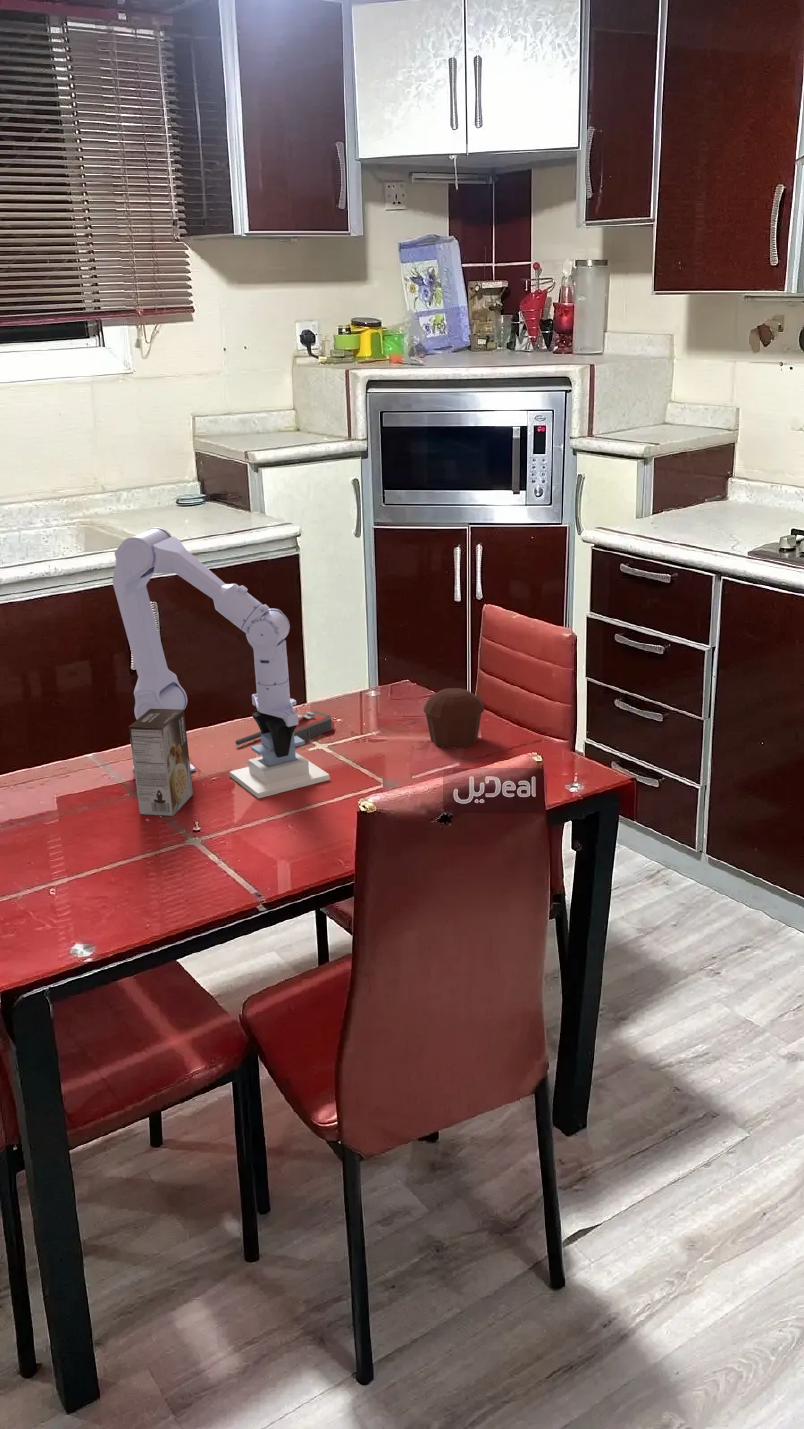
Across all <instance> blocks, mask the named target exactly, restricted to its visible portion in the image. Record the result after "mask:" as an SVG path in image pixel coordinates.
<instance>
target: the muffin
mask: <svg viewBox="0 0 804 1429" xmlns="http://www.w3.org/2000/svg"><path fill="white" fill-rule="evenodd" d="M484 711H485V705H484V704H483V702H482V700H481V698H480V697H479V696H477V695H476V694H474V693H472V692H471V691H470V690H467V689H465V688H457V687H450V688H449V687H448V688H444V689H440V690H439V691H437V692H435V693H434V694H432V695H431V696H430V697H429V698H427V700H426V702H425V704H424V706H423V712H424V714H425V716H426V721H427V725H428V732H429V736H430V742H432V743H433V744H434V745H435V746H436V747H440V746H442V748H445V747H447V748H446V749H460V748H459V747H464V748H466V747H465V746H467V745H470V746H472V745H471V744H474V745H475V743H476V741H477V740H478V737H479V731H480V725H481V724H480V723H481V718H482V714H483V712H484ZM443 746H444V747H443ZM454 747H455V748H454ZM467 747H468V746H467Z"/></svg>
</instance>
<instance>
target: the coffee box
mask: <svg viewBox="0 0 804 1429" xmlns="http://www.w3.org/2000/svg"><path fill="white" fill-rule="evenodd" d="M185 717H186V716H185V709H149V710H148V711H147V712H146V713H145V714H143V715H142V716H141V717H140V718H139V719H136V720H135V721H134V722H132V723H131V724H130V725H128V729H129V730H128V731H129V737H130V738H129V740H130V739H131V741H130V748H131V747H132V749H131V756H132V755H133V758H132V764H133V763H134V770H133V771H134V777H135V786H136V793H137V802H138V810H139V814H140V815H151V816H152V815H153V816H169V817H173V816H175V814H177V812H178V811H179V810H180V809H181V808H182V807H183V806H185V804H186V803H187V801H188V800H190V798H191V797H192V796H193V795H194V791H193V782H192V771H190V764H191V762H190V755H189V754H190V753H189V752H190V751H189V745H188V736H187V734H188V733H187V726H186V719H185Z"/></svg>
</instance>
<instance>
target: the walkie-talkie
mask: <svg viewBox="0 0 804 1429" xmlns="http://www.w3.org/2000/svg"><path fill="white" fill-rule="evenodd" d="M297 714H298V713H297ZM332 724H333V722H332V716H331V715H330V714H327V713H323V712H320V711H316V710H314V711H311V712H310V711H306V712H305V713H304V714H302V715H301V714H300V713H299V714H298V725H297V726H296V728H295V730H294V732H293V733H294V736H298V737H299V738H301V739H303V740H304V741H307V740H309V739H311V738H315V737H316V736H320V735H322V734H324V733H326V732H327V733H328V732H329V731H330V732H331V731H332V729H333V726H332ZM261 734H262V733H261V731H259V732H255V733H253V734H249V735H247V736H244V737H241V738H239V739H236V740H235V745H237V746H239V745H243V744H245V743H248V742H251V741H253V740H256V739H259V738H261Z"/></svg>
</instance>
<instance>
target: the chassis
mask: <svg viewBox="0 0 804 1429" xmlns="http://www.w3.org/2000/svg"><path fill="white" fill-rule="evenodd" d="M295 755H296V760H293V761H289V762H285V763H281V764H277V765H273V766H270V765H268V764H267V763H266V762H264V761H263V757H262V755H260V756H258V757H253V758H250V759H247V760H248V762H247V763H248V766H246V767H242V768H239V769H233V770H230V771H229V778H231V779H233V780H234V781H235V782H236V783H238V784H239V785H240V786H241V787H243V788H244V789H245V790H247V792H249V793H251V794H252V795H253V796H254V797H256V798H257V799H261V798H265V797H269V796H273V795H277V794H281V793H284V792H288V791H292V790H296V789H299V788H303V787H308V786H312V785H314V784H319V783H323V782H326V781H330V780H331V778H330V774H329V773H328V772H326V771H325V770H323V769H322V768H320V767H318V766H317V765H315V764H314V763H313V762H311V761H310V760H309V759H307V758H306V757H304V756H303V755H300V754H299V753H298V752H296V751H295Z"/></svg>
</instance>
